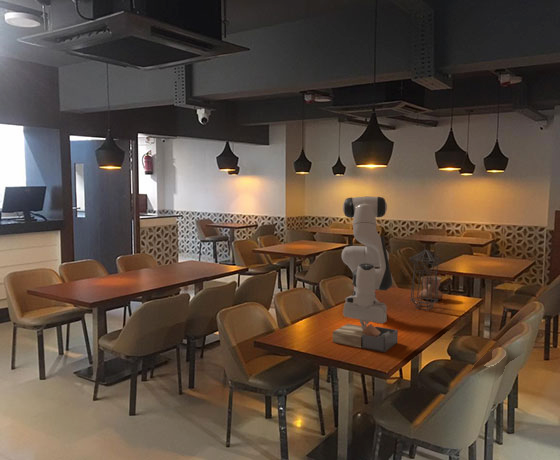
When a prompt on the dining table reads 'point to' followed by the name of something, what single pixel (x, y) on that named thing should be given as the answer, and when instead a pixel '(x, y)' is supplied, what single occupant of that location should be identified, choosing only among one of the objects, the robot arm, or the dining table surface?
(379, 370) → the dining table surface
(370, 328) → the terracotta tile
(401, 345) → the dining table surface
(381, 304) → the robot arm
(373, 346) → the tray
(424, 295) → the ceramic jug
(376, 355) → the dining table surface
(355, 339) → the board
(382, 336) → the blue-grey tile
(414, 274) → the geometric lantern
